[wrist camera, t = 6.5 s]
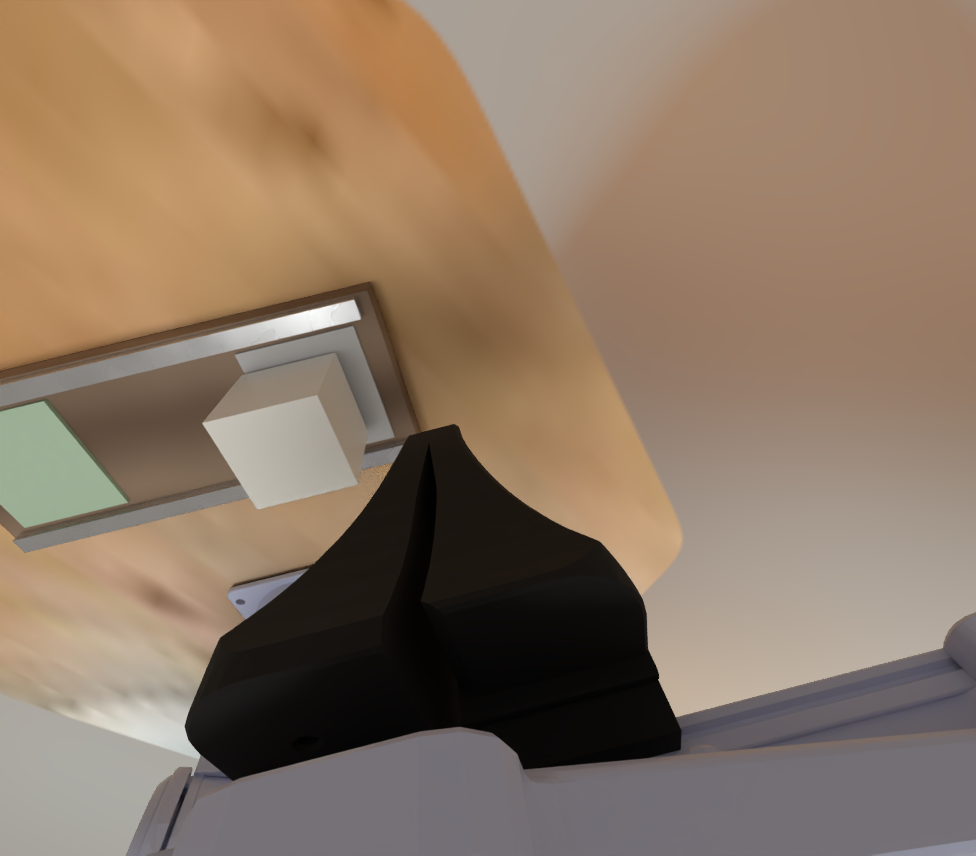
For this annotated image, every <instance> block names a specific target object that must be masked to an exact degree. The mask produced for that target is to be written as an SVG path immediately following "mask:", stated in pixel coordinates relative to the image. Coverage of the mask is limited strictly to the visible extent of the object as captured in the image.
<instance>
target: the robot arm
mask: <svg viewBox="0 0 976 856" xmlns="http://www.w3.org/2000/svg"><path fill="white" fill-rule="evenodd" d="M228 598H229V599H230V601H231V602H232V603H233V605H234V606H235V607H236V608H237V610H238V611H239V612H240V613H241V615H242V616H243V617H244V618H245V620H244V621H243V622H242V623H240V624H239V625H238V626H236V627H235V628H234V629H232V630H231V631H229V632H228V633H226V634H225V635H223V636H222V637H221V638H220V639H219V642H218V644H217V646H216V648H215V650H214V653H213V655H212V657H211V660H210V662H209V664H208V667H207V669H206V672H205V674H204V676H203V679H202V681H201V684H200V686H199V689H198V691H197V693H196V696H195V698H194V701H193V703H192V705H191V708H190V710H189V713H188V716H187V720H186V724H185V729H186V733H187V737H188V740H189V741H190V743H191V744H192V745H193V747H194V748H195V749H196V750H197V751H198V752H199V753H200V755H201V756H200V759H199V762H198V765H197V767H196V770H195V773H194V776H191V772H192V767H179V768H177V769H176V770H175V772H174V773H173V775H171V776H169V777H168V778H166V779H165V780H164V781H162V782H161V783H160V784H159V785H158V786H157V788H156V790H155V791H154V793H153V795H152V797H151V799H150V801H149V803H148V806H147V808H146V810H145V812H144V814H143V817H142V819H141V821H140V823H139V826H138V828H137V830H136V833H135V835H134V838H133V840H132V842H131V844H130V847H129V849H128V852H127V854H126V856H976V612H975V613H973V614H970V615H968V616H965V617H964V618H962V619H961V620H959V621H958V622H956V623H955V624H954V625H953V626H952V627H951V629H950V630H949V632H948V633H947V635H946V638H945V641H944V645H943V648H942V649H938V650H934V651H930V652H926V653H923V654H919V655H915V656H911V657H907V658H903V659H899V660H896V661H892V662H888V663H884V664H880V665H876V666H872V667H868V668H865V669H861V670H857V671H853V672H850V673H845V674H841V675H838V676H834V677H830V678H827V679H822V680H818V681H814V682H811V683H807V684H803V685H799V686H795V687H791V688H787V689H784V690H780V691H776V692H772V693H768V694H765V695H760V696H757V697H753V698H749V699H745V700H741V701H738V702H733V703H730V704H726V705H722V706H718V707H715V708H711V709H706V710H703V711H699V712H695V713H691V714H687V715H683V716H680V717H675V715H674V713H673V711H672V709H671V706H670V704H669V702H668V700H667V698H666V696H665V693H664V691H663V689H662V687H661V685H660V683H659V681H658V679H659V673H658V670H657V667H656V665H655V663H654V661H653V659H652V657H651V654H650V652H649V650H648V637H647V614H646V610H645V606H644V602H643V599H642V597H641V595H640V594H639V592H638V590H637V588H636V587H635V585H634V584H633V582H632V581H631V579H630V578H629V576H628V575H627V574H626V572H625V571H624V569H623V568H622V567H621V566H620V564H619V563H618V562H617V560H616V559H615V558H614V557H613V556H612V555H611V553H610V552H609V551H608V550H607V549H606V548H605V546H604V545H603V544H602V543H601V542H599V541H598V540H595V539H593V538H590V537H588V536H585V535H583V534H580V533H578V532H575V531H573V530H570V529H567V528H565V527H564V526H562V525H560V524H558V523H556V522H554V521H552V520H550V519H549V518H547V517H545V516H544V515H542V514H540V513H539V512H537V511H536V510H534V509H532V508H531V507H529V506H528V505H526V504H525V503H523V502H522V501H521V500H519V499H518V498H517V497H515V496H514V495H513V494H512V493H510V492H509V491H508V490H507V489H505V488H504V487H503V486H502V485H501V484H500V483H499V482H498V481H497V480H496V479H495V478H494V477H493V476H492V475H491V474H490V473H489V472H488V471H487V470H486V469H485V468H484V467H483V466H482V465H481V463H480V462H479V461H478V460H477V458H476V457H475V456H474V455H473V453H472V452H471V451H470V449H469V448H468V446H467V445H466V443H465V441H464V440H463V438H462V436H461V432H460V429H459V427H458V426H456V425H455V424H452V425H448V426H444V427H441V428H437V429H433V430H429V431H425V432H421V433H417V434H413V435H409V436H408V438H407V439H406V441H405V443H404V445H403V446H402V448H401V450H400V452H399V454H398V456H397V457H396V459H395V461H394V463H393V465H392V466H391V468H390V470H389V471H388V473H387V475H386V476H385V478H384V480H383V481H382V483H381V485H380V486H379V488H378V489H377V491H376V492H375V494H374V495H373V497H372V498H371V500H370V501H369V503H368V504H367V506H366V507H365V508H364V510H363V511H362V512H361V513H360V515H359V516H358V517H357V519H356V520H355V521H354V522H353V523H352V524H351V526H350V527H349V528H348V529H347V530H346V532H345V533H344V534H343V535H342V536H341V537H340V538H339V539H338V540H337V541H336V542H335V543H334V544H333V545H332V546H331V547H330V548H329V549H328V550H327V551H326V552H325V553H324V554H323V555H322V556H321V557H320V558H319V559H318V560H317V562H316V563H315V564H314V565H312V566H311V567H310V568H308V569H304V570H300V571H296V572H292V573H288V574H284V575H280V576H276V577H271V578H267V579H263V580H259V581H255V582H251V583H247V584H243V585H239V586H235V587H232V588H231V589H230V590H229V592H228Z"/></svg>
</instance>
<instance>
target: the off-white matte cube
mask: <svg viewBox="0 0 976 856" xmlns="http://www.w3.org/2000/svg"><path fill="white" fill-rule="evenodd" d="M202 424H203V425H204V427H205V428H206V430H207V432H208V433H209V435H210V436H211V438H212V439H213V441H214V443H215V444H216V446H217V447H218V449H219V450H220V452H221V454H222V455H223V457H224V458H225V460H226V461H227V463H228V465H229V466H230V468H231V469H232V471H233V472H234V474H235V476H236V477H237V479H238V480H239V482H240V483H241V485H242V487H243V488H244V490H245V491H246V493H247V494H248V496H249V498H250V499H251V501H252V502H253V504H254V505H255V507H256V509H257V510H258V509H262V508H266V507H270V506H274V505H278V504H282V503H286V502H291V501H295V500H299V499H303V498H307V497H311V496H315V495H319V494H323V493H327V492H331V491H335V490H339V489H343V488H347V487H351V486H356V485H358V484H359V478H360V473H361V467H362V462H363V456H364V451H365V446H366V440H367V435H368V430H367V428H366V425H365V423H364V421H363V418H362V416H361V413H360V411H359V408H358V406H357V403H356V401H355V399H354V396H353V394H352V391H351V389H350V386H349V384H348V382H347V379H346V377H345V374H344V372H343V369H342V367H341V364H340V362H339V360H338V357H337V355H336V352H335V353H331V354H327V355H322V356H318V357H314V358H310V359H306V360H302V361H298V362H294V363H289V364H285V365H281V366H277V367H273V368H269V369H265V370H261V371H257V372H252V373H248V374H244V375H241V376H240V378H239V379H238V380H237V381H236V382H235V384H234V385H233V386H232V387H231V389H230V390H229V391H228V392H227V393H226V395H225V396H224V397H223V398H222V400H221V401H220V402H219V403H218V404H217V406H216V407H215V408H214V409H213V410H212V412H211V413H210V414H209V415H208V417H207V418H206V419H205V420H204V421H203V423H202Z"/></svg>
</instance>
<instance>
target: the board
mask: <svg viewBox="0 0 976 856" xmlns="http://www.w3.org/2000/svg"><path fill="white" fill-rule="evenodd" d="M335 352H336V355H337V357H338V360H339V362H340V364H341V367H342V369H343V372H344V374H345V377H346V379H347V382H348V384H349V386H350V389H351V391H352V394H353V396H354V399H355V401H356V403H357V406H358V408H359V411H360V413H361V416H362V418H363V421H364V423H365V425H366V428H367V430H368V435H367V440H366V446H365V451H364V456H363V462H362V467H361V470H364V469H368V468H372V467H376V466H380V465H384V464H388V463H392V462H394V461H395V459H396V457H397V456H398V454H399V452H400V450H401V448H402V446H403V445H404V443H405V441H406V439H407V438H408V436H409V435H413V434H417V433H421V431H420V428H419V425H418V422H417V419H416V416H415V413H414V410H413V407H412V404H411V401H410V398H409V395H408V392H407V389H406V386H405V383H404V380H403V377H402V374H401V371H400V368H399V365H398V362H397V359H396V356H395V353H394V350H393V347H392V344H391V341H390V338H389V335H388V332H387V329H386V326H385V323H384V320H383V317H382V314H381V311H380V308H379V305H378V303H377V300H376V297H375V294H374V291H373V288H372V285H371V282H368V283H364V284H360V285H356V286H351V287H347V288H343V289H339V290H335V291H331V292H327V293H322V294H318V295H314V296H310V297H306V298H302V299H298V300H293V301H289V302H285V303H281V304H277V305H273V306H269V307H264V308H260V309H256V310H252V311H248V312H244V313H240V314H236V315H231V316H227V317H223V318H219V319H215V320H211V321H207V322H202V323H198V324H194V325H190V326H186V327H182V328H178V329H173V330H169V331H165V332H161V333H157V334H153V335H149V336H144V337H140V338H136V339H132V340H128V341H124V342H120V343H115V344H111V345H107V346H103V347H99V348H95V349H91V350H86V351H82V352H78V353H74V354H70V355H66V356H62V357H58V358H53V359H49V360H45V361H41V362H37V363H33V364H29V365H24V366H20V367H16V368H12V369H8V370H4V371H0V524H1V525H2V526H3V527H4V528H5V529H6V530H8V531H9V532H10V533H11V534H12V535H13V536H14V537H15V539H14V540H13V542H14V543H15V544H16V545H17V546H18V547H19V548H21V549H22V550H23V551H24V552H25V553H26V552H30V551H34V550H38V549H42V548H46V547H50V546H54V545H59V544H63V543H67V542H71V541H75V540H79V539H83V538H87V537H91V536H95V535H99V534H103V533H107V532H111V531H116V530H120V529H124V528H128V527H132V526H136V525H140V524H144V523H148V522H152V521H156V520H160V519H164V518H168V517H172V516H177V515H181V514H185V513H189V512H193V511H197V510H201V509H205V508H209V507H213V506H217V505H221V504H225V503H229V502H233V501H238V500H242V499H246V498H249V496H248V494H247V493H246V491H245V490H244V488H243V487H242V485H241V483H240V482H239V480H238V479H237V477H236V476H235V474H234V472H233V471H232V469H231V468H230V466H229V465H228V463H227V461H226V460H225V458H224V457H223V455H222V454H221V452H220V450H219V449H218V447H217V446H216V444H215V443H214V441H213V439H212V438H211V436H210V435H209V433H208V432H207V430H206V428H205V427H204V425H203V424H202V423H203V421H204V420H205V419H206V418H207V417H208V415H209V414H210V413H211V412H212V410H213V409H214V408H215V407H216V406H217V404H218V403H219V402H220V401H221V400H222V398H223V397H224V396H225V395H226V393H227V392H228V391H229V390H230V389H231V387H232V386H233V385H234V384H235V382H236V381H237V380H238V379H239V378H240V376H241V375H244V374H248V373H252V372H257V371H261V370H265V369H269V368H273V367H277V366H281V365H285V364H289V363H294V362H298V361H302V360H306V359H310V358H314V357H318V356H322V355H327V354H331V353H335Z"/></svg>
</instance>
